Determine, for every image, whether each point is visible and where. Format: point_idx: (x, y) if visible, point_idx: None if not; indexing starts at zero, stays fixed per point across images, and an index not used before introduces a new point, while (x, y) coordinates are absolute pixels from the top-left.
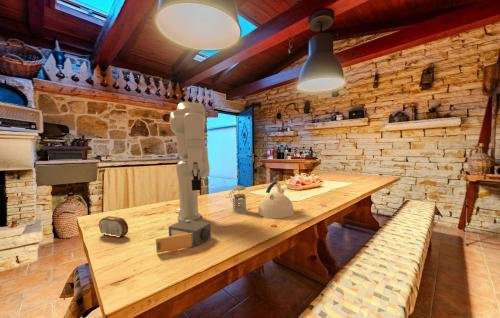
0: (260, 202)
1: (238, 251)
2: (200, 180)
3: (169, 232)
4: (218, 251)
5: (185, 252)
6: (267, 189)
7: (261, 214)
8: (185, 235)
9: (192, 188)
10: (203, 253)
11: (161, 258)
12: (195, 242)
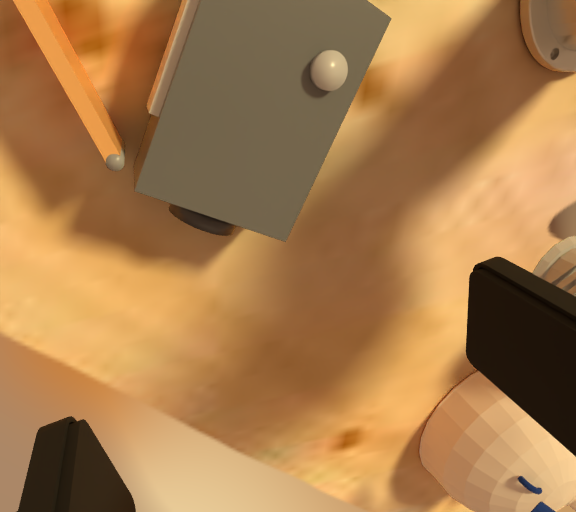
0: None
1: (93, 375)
2: (536, 420)
3: None
4: (82, 295)
5: (46, 121)
6: None
7: (472, 382)
8: (85, 122)
9: (35, 462)
10: (49, 229)
11: None
12: (135, 165)
